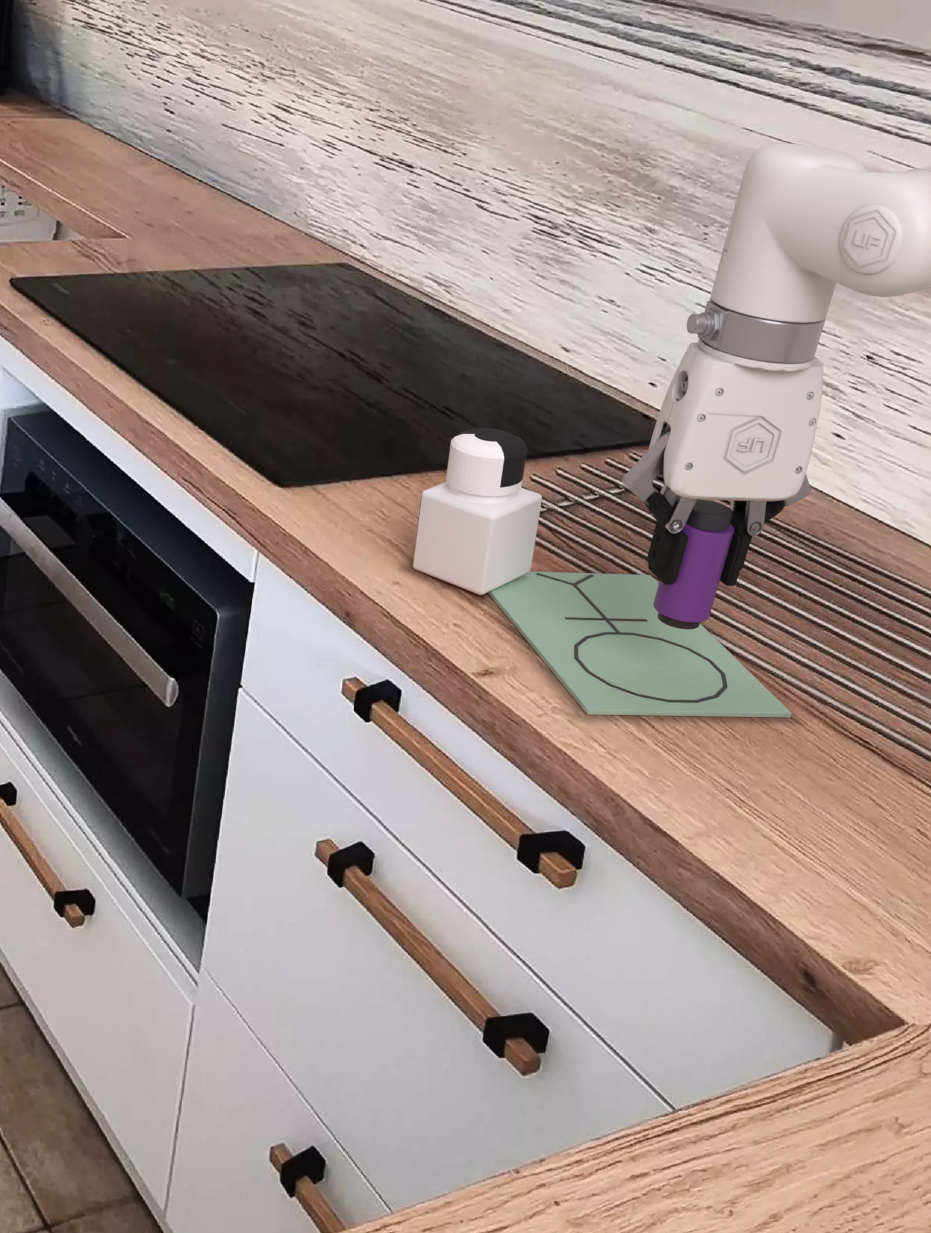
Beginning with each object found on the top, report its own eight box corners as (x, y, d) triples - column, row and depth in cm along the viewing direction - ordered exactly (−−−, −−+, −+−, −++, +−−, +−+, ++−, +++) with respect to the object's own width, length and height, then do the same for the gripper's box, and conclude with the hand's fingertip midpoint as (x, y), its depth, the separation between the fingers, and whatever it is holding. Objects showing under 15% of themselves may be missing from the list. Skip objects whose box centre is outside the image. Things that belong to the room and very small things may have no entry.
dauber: (707, 617, 131) (740, 504, 127) (704, 637, 128) (738, 523, 124) (652, 604, 132) (683, 493, 128) (648, 624, 129) (679, 510, 125)
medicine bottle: (461, 546, 152) (479, 414, 146) (531, 573, 147) (553, 438, 142) (410, 569, 148) (427, 434, 142) (481, 597, 143) (501, 459, 137)
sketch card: (790, 717, 130) (792, 712, 129) (587, 714, 127) (588, 709, 127) (649, 578, 150) (650, 574, 150) (471, 574, 148) (472, 569, 148)
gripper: (671, 345, 115) (605, 597, 124) (902, 356, 118) (822, 602, 127) (621, 312, 122) (562, 554, 130) (842, 323, 125) (769, 559, 133)
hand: (691, 575), depth 128 cm, fingers closed on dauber, 4 cm apart
